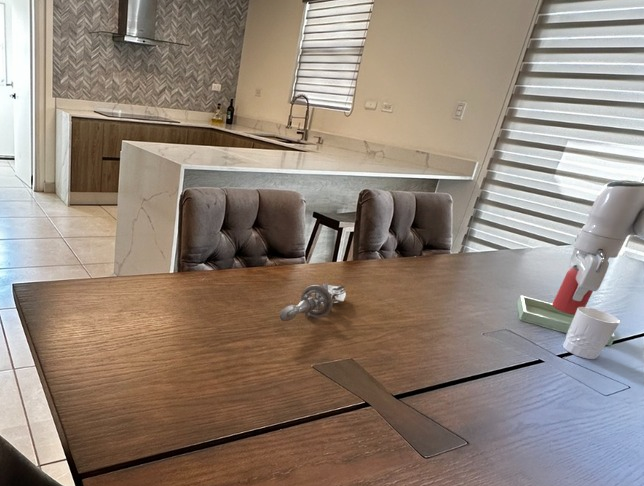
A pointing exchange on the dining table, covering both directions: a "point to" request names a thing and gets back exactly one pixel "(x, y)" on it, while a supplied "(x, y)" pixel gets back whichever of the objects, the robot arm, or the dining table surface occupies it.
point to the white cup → (589, 332)
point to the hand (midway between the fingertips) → (573, 294)
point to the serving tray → (546, 315)
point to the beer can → (569, 294)
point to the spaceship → (315, 301)
